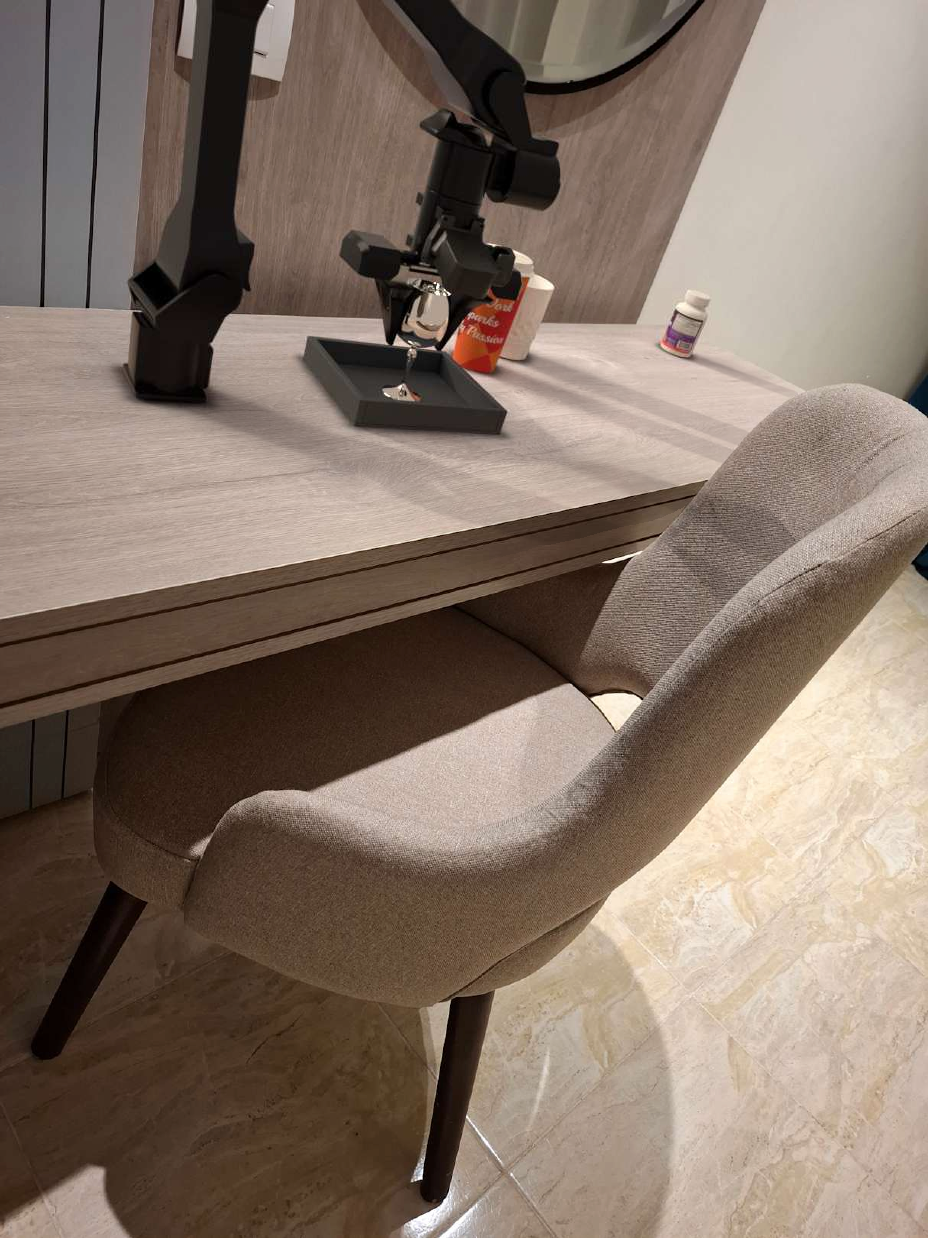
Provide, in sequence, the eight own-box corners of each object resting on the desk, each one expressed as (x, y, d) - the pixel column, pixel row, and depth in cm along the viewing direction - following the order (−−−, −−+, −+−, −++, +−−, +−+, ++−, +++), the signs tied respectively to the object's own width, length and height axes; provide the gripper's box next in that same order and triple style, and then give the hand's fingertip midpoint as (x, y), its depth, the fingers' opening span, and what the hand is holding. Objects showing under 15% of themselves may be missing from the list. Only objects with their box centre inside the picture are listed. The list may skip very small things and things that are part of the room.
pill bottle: (667, 343, 154) (691, 286, 149) (694, 356, 152) (719, 299, 147) (654, 346, 150) (678, 288, 145) (682, 359, 148) (708, 301, 143)
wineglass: (407, 410, 96) (437, 299, 90) (365, 387, 98) (391, 277, 92) (436, 401, 101) (466, 295, 94) (395, 379, 103) (422, 274, 96)
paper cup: (435, 357, 114) (467, 244, 106) (457, 346, 120) (489, 238, 112) (491, 382, 112) (527, 269, 105) (510, 368, 119) (546, 261, 111)
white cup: (526, 367, 121) (551, 294, 115) (470, 347, 121) (493, 273, 115) (533, 352, 127) (557, 281, 122) (480, 333, 128) (502, 262, 122)
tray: (354, 425, 90) (360, 399, 89) (302, 359, 100) (307, 335, 99) (500, 434, 99) (508, 411, 98) (439, 372, 110) (445, 350, 108)
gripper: (403, 201, 78) (362, 371, 86) (572, 237, 88) (521, 387, 96) (355, 165, 85) (322, 325, 94) (517, 202, 95) (473, 343, 104)
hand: (413, 346), depth 97 cm, fingers closed on wineglass, 5 cm apart
